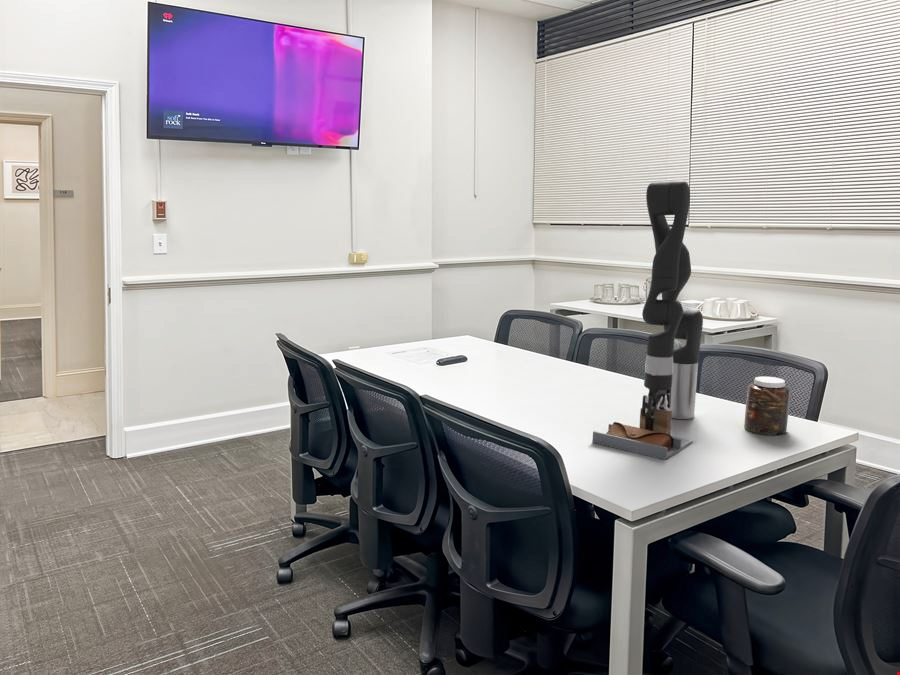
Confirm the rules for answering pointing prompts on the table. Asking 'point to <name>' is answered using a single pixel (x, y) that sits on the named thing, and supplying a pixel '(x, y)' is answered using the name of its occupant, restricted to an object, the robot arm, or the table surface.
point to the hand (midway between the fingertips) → (655, 427)
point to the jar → (767, 406)
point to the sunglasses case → (641, 435)
